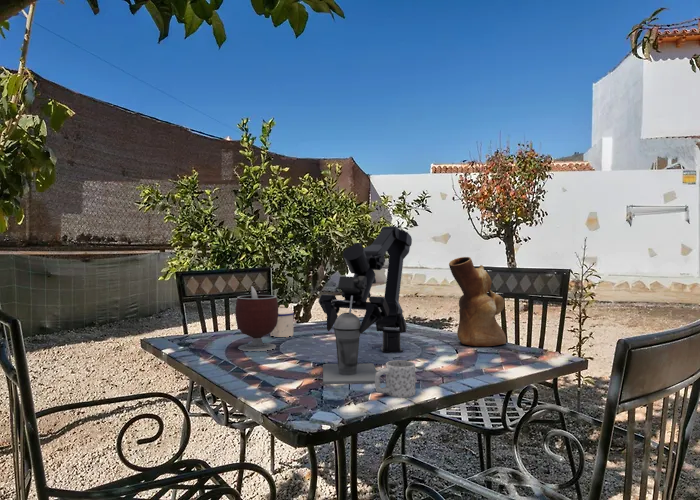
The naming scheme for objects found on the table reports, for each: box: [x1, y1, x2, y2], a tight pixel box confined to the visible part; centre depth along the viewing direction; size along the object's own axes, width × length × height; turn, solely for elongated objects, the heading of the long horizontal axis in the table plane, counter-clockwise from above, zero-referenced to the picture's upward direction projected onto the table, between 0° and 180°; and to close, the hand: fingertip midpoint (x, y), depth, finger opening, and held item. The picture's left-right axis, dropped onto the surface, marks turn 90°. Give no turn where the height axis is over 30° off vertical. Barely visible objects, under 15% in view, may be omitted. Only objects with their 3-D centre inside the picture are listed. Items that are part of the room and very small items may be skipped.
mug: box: [374, 359, 416, 398], centre depth 109 cm, size 10×7×7 cm
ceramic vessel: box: [448, 256, 507, 347], centre depth 166 cm, size 16×22×30 cm
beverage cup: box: [332, 295, 362, 375], centre depth 126 cm, size 7×7×20 cm
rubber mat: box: [322, 362, 382, 385], centre depth 127 cm, size 18×14×1 cm
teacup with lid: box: [269, 304, 295, 338], centre depth 182 cm, size 12×9×12 cm
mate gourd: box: [234, 285, 279, 352], centre depth 161 cm, size 16×14×20 cm
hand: (343, 331), depth 124 cm, fingers open, 9 cm apart
